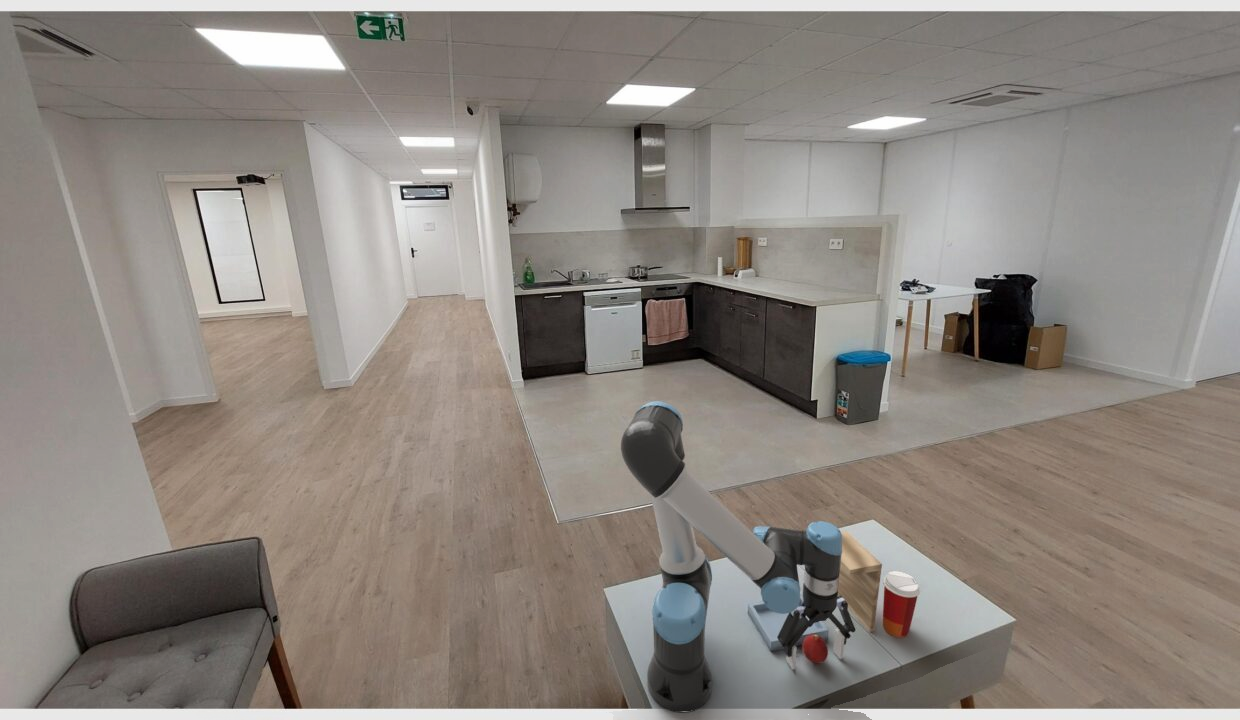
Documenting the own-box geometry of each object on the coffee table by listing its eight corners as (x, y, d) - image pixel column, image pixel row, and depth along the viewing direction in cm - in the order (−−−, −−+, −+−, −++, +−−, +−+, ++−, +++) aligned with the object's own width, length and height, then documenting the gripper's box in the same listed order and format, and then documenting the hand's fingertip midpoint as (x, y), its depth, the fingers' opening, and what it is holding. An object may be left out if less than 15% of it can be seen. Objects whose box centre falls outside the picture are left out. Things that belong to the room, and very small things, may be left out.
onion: (806, 647, 123) (808, 621, 121) (829, 659, 120) (832, 632, 117) (798, 663, 119) (800, 636, 117) (822, 675, 115) (824, 648, 113)
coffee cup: (904, 617, 131) (911, 570, 127) (919, 642, 123) (927, 593, 119) (872, 615, 132) (877, 569, 128) (885, 640, 124) (891, 591, 120)
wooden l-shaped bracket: (842, 637, 125) (849, 569, 120) (812, 598, 139) (817, 536, 133) (873, 631, 127) (882, 564, 121) (840, 593, 140) (846, 531, 135)
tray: (770, 651, 122) (770, 641, 121) (747, 612, 135) (747, 603, 134) (827, 639, 125) (828, 629, 124) (800, 602, 137) (800, 593, 137)
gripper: (780, 607, 108) (776, 683, 113) (877, 588, 112) (868, 662, 118) (764, 583, 115) (761, 656, 120) (856, 566, 119) (848, 637, 125)
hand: (814, 659), depth 119 cm, fingers open, 12 cm apart
